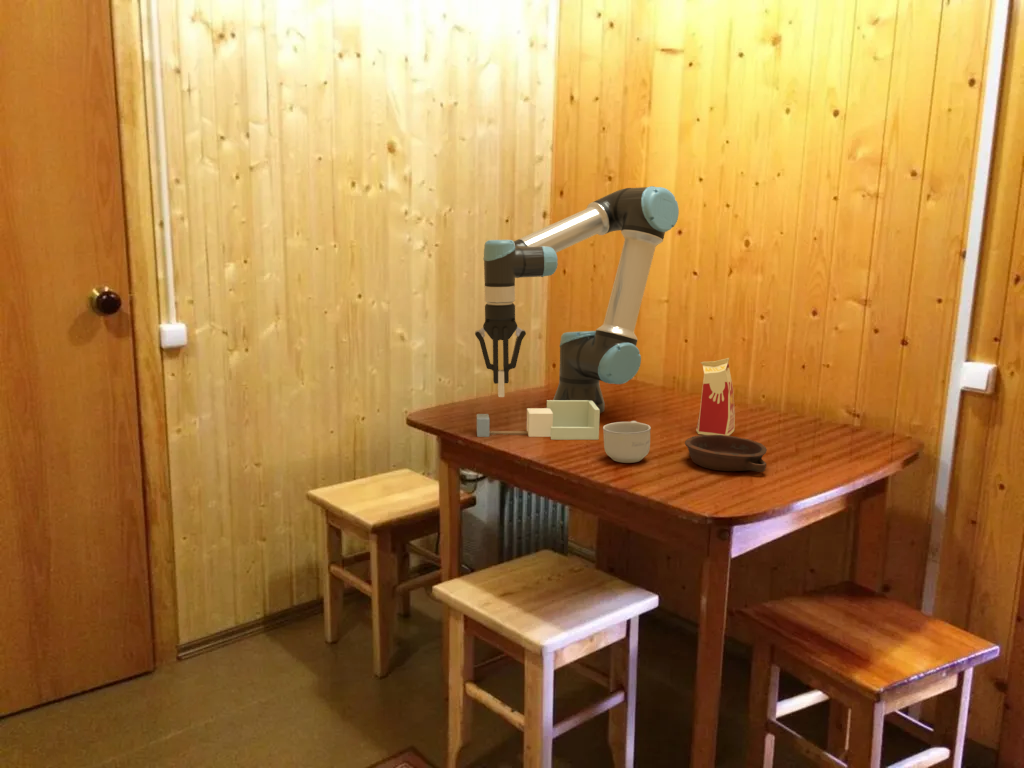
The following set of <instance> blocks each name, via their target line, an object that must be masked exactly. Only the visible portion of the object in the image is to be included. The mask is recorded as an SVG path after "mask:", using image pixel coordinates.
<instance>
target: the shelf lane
mask: <svg viewBox="0 0 1024 768" xmlns="http://www.w3.org/2000/svg"><path fill="white" fill-rule="evenodd" d="M546 408H550V409H551V411H552V413H553V427H551V437H550V440H557V441H558V440H561V441H562V440H565V441H566V440H567V441H568V440H573V441H574V440H575V441H577V440H587V441H588V440H595V441H596V440H599V438H600V414H601V413H600V410H599V408H598V407H597V406H596V405H595V403H594V402H593V401H592V400H553V399H549V400H548V399H546Z"/></svg>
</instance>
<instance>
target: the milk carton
mask: <svg viewBox="0 0 1024 768" xmlns="http://www.w3.org/2000/svg"><path fill="white" fill-rule="evenodd" d="M729 360H730V357H726V358H723V359H722V358H721V359H719V360H715V361H713V360H711V361H700V364H701V365H702V369H703V381H702V387H701V397H700V407H699V408H700V409H699V414H698V420H697V422H696V423H697V424H696V429H695V431H696V434H698V435H727V436H731V435H732V433H733V432H735V420H736V418H735V417H736V410H735V399H734V398H735V395H734V386H733V380H732V375H731V370H730V364H729Z"/></svg>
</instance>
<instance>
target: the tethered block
mask: <svg viewBox="0 0 1024 768" xmlns="http://www.w3.org/2000/svg"><path fill="white" fill-rule="evenodd" d="M551 427H553V413H552V411H551V409H550V408H547V407H544V408H542V407H541V408H536V407H535V408H532V407H530V408H529V407H528V408H526V430H490V416H489V413H476V436H477V437H478V438H480V437H481V438H482V437H483V438H489V437H490V436H492V435H496V434H503V435H505V436H506V435H507V436H509V435H508V434H510V435H527V436H528V437H529V438H530V437H531V438H532V437H533V438H536V437H540V438H541V437H543V438H545V437H550V438H551Z"/></svg>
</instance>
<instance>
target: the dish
mask: <svg viewBox="0 0 1024 768" xmlns="http://www.w3.org/2000/svg"><path fill="white" fill-rule="evenodd" d="M684 444H685V446H686V447H687V450H688V454H689V456H690V458H691V460H692V462H693V463H694V464H696V465H698V466H700V467H702V468H705V469H708V470H713V471H722V472H745V471H753V472H758V473H762V472H765V471H766V467H767V462H765V461H764V460H763V459H762V458H763V456H764V455H765V454H767V450H768V449H767V447H766V446H765V445H764V444H762V443H760V442H758V441H755V440H752V439H749V438H744V437H739V436H733V435H729V436H727V435H702V434H698V435H694V436H691V437H689V438H687V439H686V440H685V441H684Z"/></svg>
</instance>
